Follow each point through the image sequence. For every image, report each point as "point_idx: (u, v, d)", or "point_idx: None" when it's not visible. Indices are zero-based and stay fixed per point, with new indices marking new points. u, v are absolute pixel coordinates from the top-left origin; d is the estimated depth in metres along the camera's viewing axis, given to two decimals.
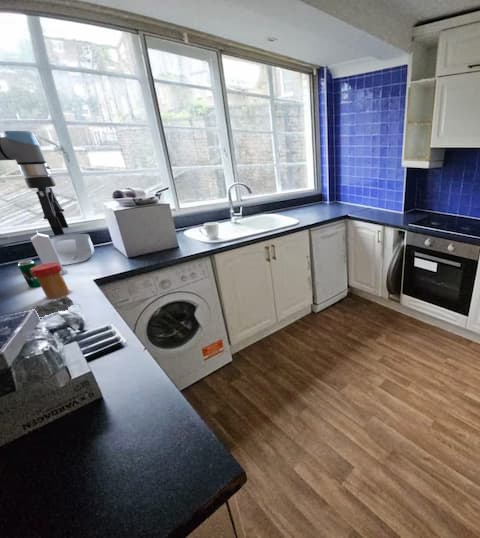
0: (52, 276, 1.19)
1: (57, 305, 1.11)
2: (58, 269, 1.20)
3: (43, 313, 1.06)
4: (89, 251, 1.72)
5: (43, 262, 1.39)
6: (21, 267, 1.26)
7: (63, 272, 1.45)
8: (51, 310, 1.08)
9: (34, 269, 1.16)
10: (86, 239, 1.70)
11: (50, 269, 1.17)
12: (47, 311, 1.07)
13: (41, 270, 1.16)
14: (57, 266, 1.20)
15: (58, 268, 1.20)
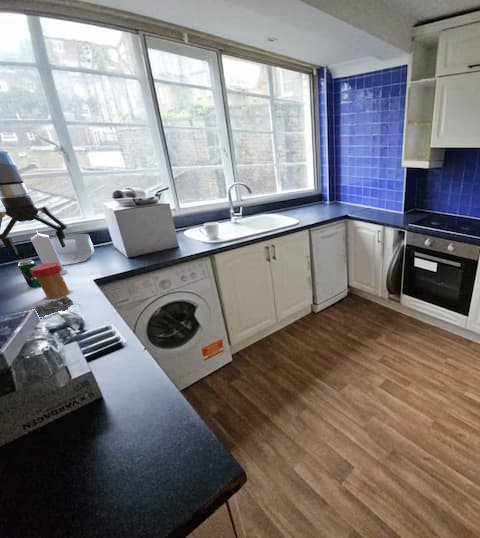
0: (52, 276, 1.19)
1: (57, 305, 1.11)
2: (58, 269, 1.20)
3: (43, 313, 1.06)
4: (89, 251, 1.72)
5: (43, 262, 1.39)
6: (21, 267, 1.26)
7: (63, 272, 1.45)
8: (51, 310, 1.08)
9: (34, 269, 1.16)
10: (86, 239, 1.70)
11: (50, 269, 1.17)
12: (47, 311, 1.07)
13: (41, 270, 1.16)
14: (57, 266, 1.20)
15: (58, 268, 1.20)
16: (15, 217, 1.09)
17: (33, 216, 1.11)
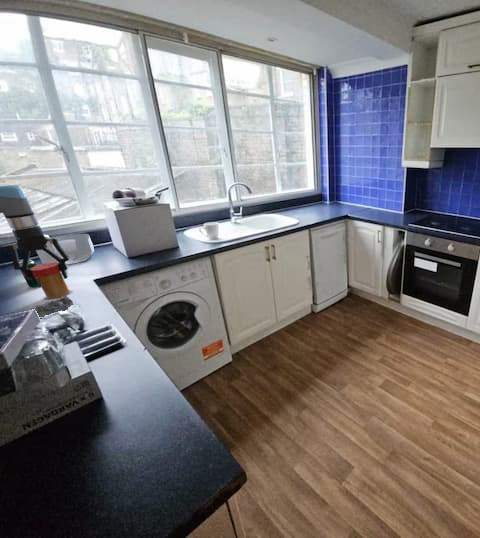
0: (52, 276, 1.19)
1: (57, 305, 1.11)
2: (58, 269, 1.20)
3: (43, 313, 1.06)
4: (89, 251, 1.72)
5: (43, 262, 1.39)
6: None
7: None
8: (51, 310, 1.08)
9: (34, 269, 1.16)
10: (86, 239, 1.70)
11: (50, 269, 1.17)
12: (47, 311, 1.07)
13: (41, 270, 1.16)
14: (57, 266, 1.20)
15: (58, 268, 1.20)
16: (26, 247, 1.13)
17: (42, 246, 1.15)
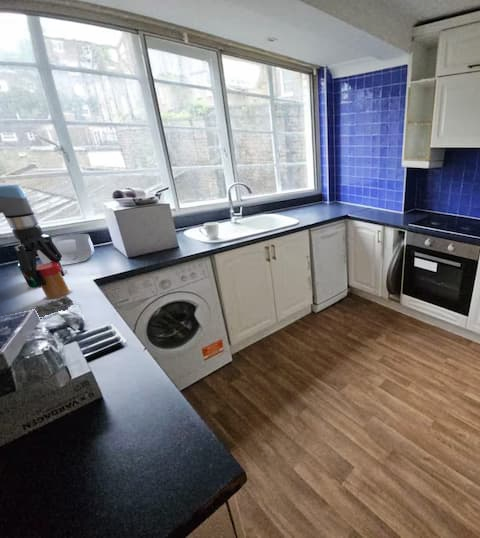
0: (52, 276, 1.19)
1: (57, 305, 1.11)
2: None
3: (43, 313, 1.06)
4: (89, 251, 1.72)
5: (43, 262, 1.39)
6: None
7: (63, 272, 1.45)
8: (51, 310, 1.08)
9: (44, 268, 1.16)
10: (86, 239, 1.70)
11: (59, 265, 1.21)
12: (47, 311, 1.07)
13: (54, 266, 1.19)
14: None
15: None
16: (34, 246, 1.13)
17: (44, 244, 1.18)
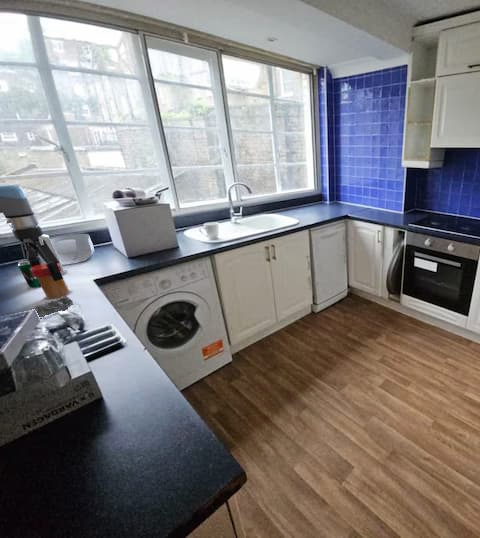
0: None
1: (57, 305, 1.11)
2: None
3: (43, 313, 1.06)
4: (89, 251, 1.72)
5: (43, 262, 1.39)
6: (21, 267, 1.26)
7: (63, 272, 1.45)
8: (51, 310, 1.08)
9: None
10: (86, 239, 1.70)
11: None
12: (47, 311, 1.07)
13: None
14: None
15: None
16: None
17: None
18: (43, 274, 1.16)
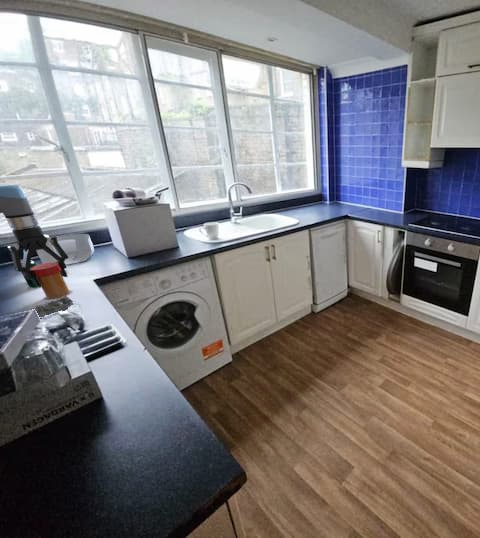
0: (52, 276, 1.19)
1: (57, 305, 1.11)
2: None
3: (43, 313, 1.06)
4: (89, 251, 1.72)
5: (43, 262, 1.39)
6: None
7: None
8: (51, 310, 1.08)
9: (54, 265, 1.19)
10: (86, 239, 1.70)
11: None
12: (47, 311, 1.07)
13: None
14: None
15: None
16: (29, 247, 1.13)
17: (44, 245, 1.17)
18: (43, 274, 1.16)
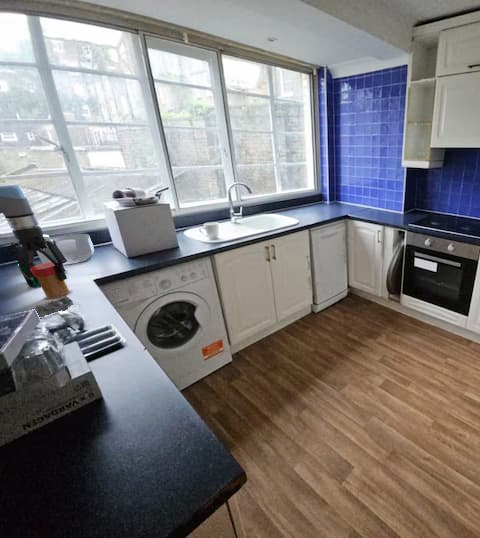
0: (52, 276, 1.19)
1: (57, 305, 1.11)
2: (33, 274, 1.16)
3: (43, 313, 1.06)
4: (89, 251, 1.72)
5: (43, 262, 1.39)
6: (21, 267, 1.26)
7: None
8: (51, 310, 1.08)
9: (44, 263, 1.21)
10: (86, 239, 1.70)
11: None
12: (47, 311, 1.07)
13: None
14: (32, 271, 1.15)
15: (33, 273, 1.16)
16: None
17: None
18: None
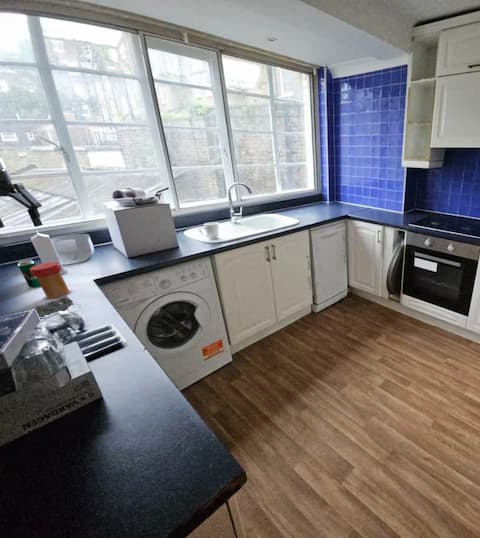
0: (52, 276, 1.19)
1: (57, 305, 1.11)
2: (33, 274, 1.16)
3: (43, 313, 1.06)
4: (89, 251, 1.72)
5: (43, 262, 1.39)
6: (21, 267, 1.26)
7: (63, 272, 1.45)
8: (51, 310, 1.08)
9: (44, 263, 1.21)
10: (86, 239, 1.70)
11: None
12: (47, 311, 1.07)
13: None
14: (32, 271, 1.15)
15: (33, 273, 1.16)
16: None
17: None
18: None
